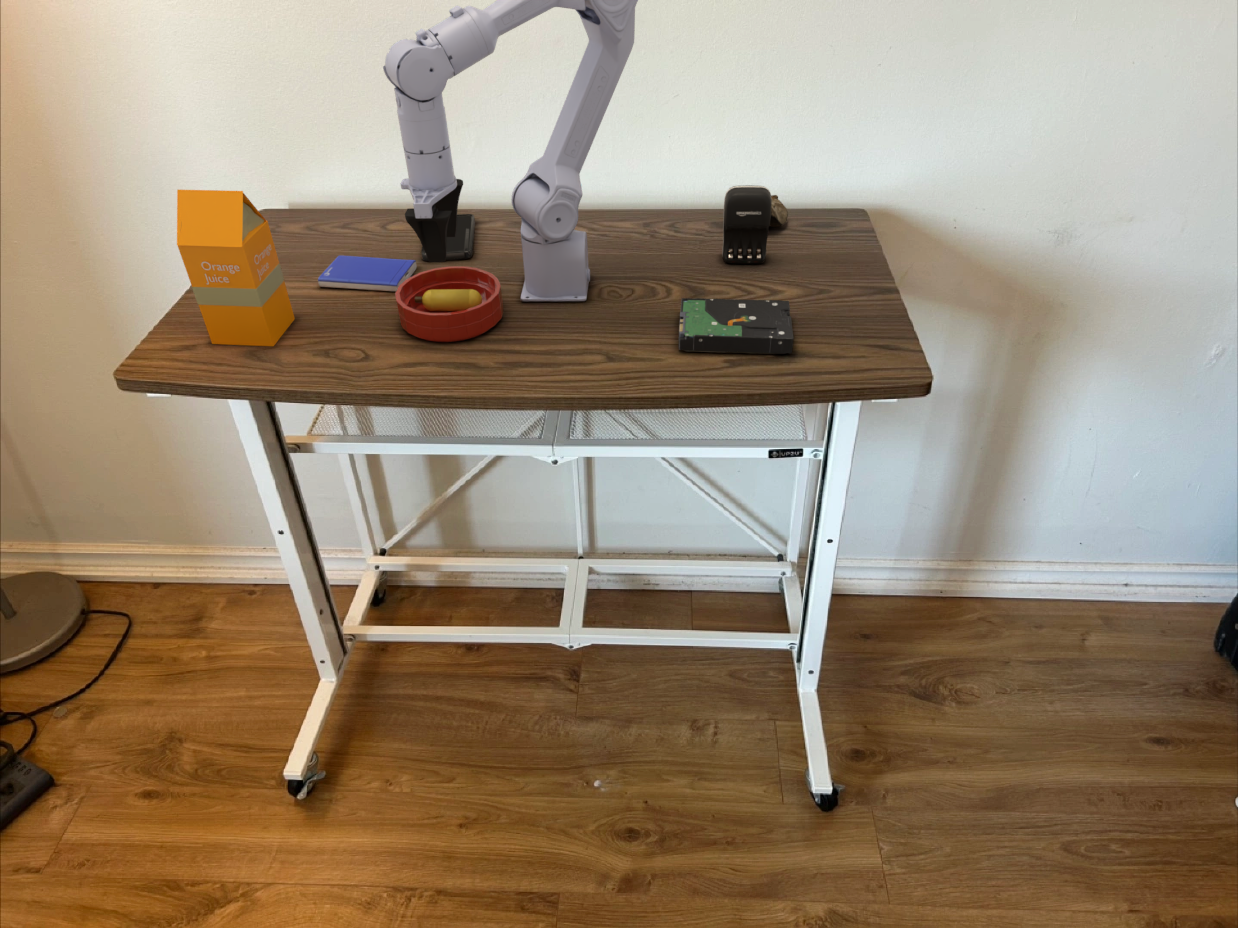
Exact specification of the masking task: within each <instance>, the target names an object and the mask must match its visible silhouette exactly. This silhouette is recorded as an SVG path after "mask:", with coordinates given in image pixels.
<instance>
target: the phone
mask: <svg viewBox="0 0 1238 928" xmlns="http://www.w3.org/2000/svg"><path fill="white" fill-rule="evenodd" d="M475 228H476V218H475V215H474V214H472V213H462V214H461V213H460V214H459V213H457V228H456V235H455V237H447V254H446V260H445V261H454V260H457V261H458V260H468V259H471V258H472V257H473V253H474V252H473V250H474V240H475V239H474V238H475V230H476V229H475ZM421 246H422V245H421ZM420 253H421V258H422V259H421V260H423V261H425V262H430V261H429V260H428V258H427V255H426V253H425V251H424V248H423V246H422V247H421V252H420Z"/></svg>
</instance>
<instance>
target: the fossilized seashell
mask: <svg viewBox="0 0 1238 928" xmlns="http://www.w3.org/2000/svg"><path fill="white" fill-rule="evenodd" d="M771 201H772V206H771V220H770V226H769V227H772V228H779V227H782V226H784V225H785V224H786V223H788V217H789V211H788V209H787V207H786V206H785V205H784V203H782V201H781V200H780V199H779V196H778V195H777V194H771Z"/></svg>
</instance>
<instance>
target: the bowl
mask: <svg viewBox="0 0 1238 928" xmlns="http://www.w3.org/2000/svg"><path fill="white" fill-rule="evenodd" d="M432 289H473V290H476V291H478V292H479V293H480V295H481V297H482V303H481V304H480V305H478V306H475V307H472V308H469V309H466V310H463V311H430V310H428V309H426V308H425V307H424V305H423V303H415V297H416V296H422V297H423V295H424V293H425V292H426V291H428V290H432ZM394 296H395V301H396V306H397V311H398V317H399V321H400V325H401V328H402V329H403V330H404V331H405V332H406V333H407V334H409V335H412V336H414V337H417V338H418V339H421V340H424V341H429V342H436V343H451V342H460V341H465V340H469V339H473V338H476V337H478V336H481V335H482V334H484V333H486V332H488V331H489V330H491V329H492V328H493V327H495V326H496V325H497V324H498V323H499V322H500V320H501V319H502V318H503V315H504V303H503V293H502V285H501V283H500V280H499V278H498V277H497V276H495V275H494V274H493V273H492V272H490V271H487V270H485V269H482V268H479V267H473V266H472V267H471V266H466V265H465V266H463V265H462V266H461V265H458V266H457V265H455V266H453V265H452V266H449V265H448V266H442V267H441V266H440V267H435V268H431V269H427V270H424V271H421V272H417V273H416V274H414V275H411V277H410V278H408V279H406V280H405V281H404V282H403V283H402V284H400V285H399V287H398V289H397V291H395V294H394Z"/></svg>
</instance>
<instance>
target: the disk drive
mask: <svg viewBox="0 0 1238 928" xmlns="http://www.w3.org/2000/svg"><path fill="white" fill-rule="evenodd" d="M790 305H791V304H790V301H789V300H780V299H768V300H767V299H738V298H737V299H735V298H734V299H733V298H703V297H699V298H698V297H696V298H692V297H691V298H690V297H686V298H685V297H681V300H680V312H679V327H678V350H679V351H684V352H701V353H702V352H704V353H733V354H735V353H737V354H761V355H762V354H764V355H766V354H767V355H772V354H773V355H776V354H779V355H785V354H792V353H793V346H794V339H795V337H794V331H793V323H792V316H791V307H790Z"/></svg>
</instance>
